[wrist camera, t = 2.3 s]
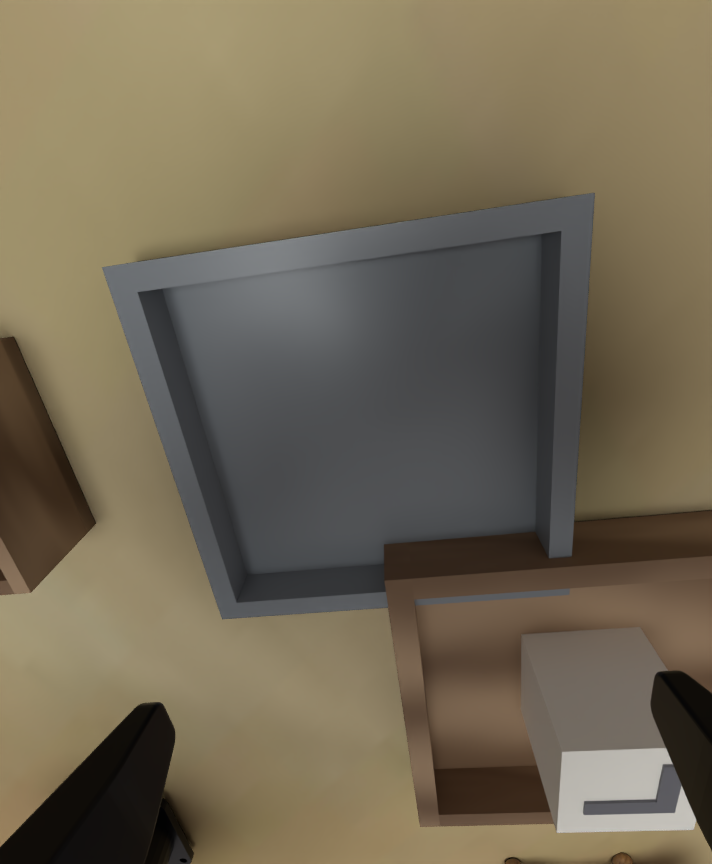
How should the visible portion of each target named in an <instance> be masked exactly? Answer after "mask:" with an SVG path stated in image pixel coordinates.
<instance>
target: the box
mask: <svg viewBox="0 0 712 864" xmlns="http://www.w3.org/2000/svg"><path fill="white" fill-rule="evenodd" d="M95 524H96V523H95V521H94V519H93V516H92V514H91V512H90V510H89V507H88V505H87V503H86V501H85V498H84V496H83V494H82V491H81V489H80V487H79V485H78V482H77V480H76V478H75V476H74V473H73V471H72V469H71V466H70V464H69V462H68V460H67V457H66V455H65V453H64V451H63V448H62V446H61V444H60V442H59V439H58V437H57V435H56V432H55V430H54V428H53V426H52V423H51V421H50V419H49V417H48V414H47V412H46V410H45V407H44V405H43V403H42V401H41V398H40V396H39V394H38V392H37V389H36V387H35V385H34V382H33V380H32V378H31V376H30V373H29V371H28V369H27V367H26V364H25V362H24V360H23V358H22V355H21V353H20V351H19V348H18V346H17V344H16V342H15V339H14V337H8V338H1V339H0V595H8V594H21V593H31V592H32V591H33V590H34V589H35V588H36V587H37V586H38V585H39V583H40V582H41V581H42V580H43V579H44V578H45V577H46V576H47V575H48V574H49V573H50V572H51V571H52V570H53V569H54V568H55V567H56V565H57V564H58V563H59V562H60V561H61V560H62V559H63V558H64V557H65V556H66V555H67V554H68V553H69V552H70V551H71V550H72V548H73V547H74V546H75V545H76V544H77V543H78V542H79V541H80V540H81V539H82V538H83V537H84V536H85V535H86V534H87V533H88V532H89V530H90V529H91V528H92V527H93V526H94V525H95Z"/></svg>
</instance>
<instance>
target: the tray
mask: <svg viewBox="0 0 712 864" xmlns="http://www.w3.org/2000/svg"><path fill="white" fill-rule="evenodd" d="M594 198H595V193H590V194H583V195H576V196H569V197H562V198H555V199H549V200H542V201H536V202H529V203H522V204H516V205H509V206H503V207H496V208H489V209H483V210H476V211H469V212H463V213H456V214H450V215H443V216H436V217H430V218H423V219H417V220H410V221H403V222H397V223H390V224H384V225H377V226H370V227H364V228H357V229H351V230H344V231H337V232H331V233H324V234H317V235H311V236H304V237H298V238H291V239H284V240H278V241H271V242H265V243H258V244H251V245H245V246H238V247H232V248H225V249H218V250H212V251H205V252H199V253H192V254H185V255H179V256H172V257H165V258H159V259H152V260H146V261H139V262H133V263H126V264H120V265H114V266H107V267H102V269H103V272H104V275H105V278H106V281H107V283H108V286H109V289H110V292H111V295H112V298H113V301H114V304H115V307H116V310H117V313H118V316H119V319H120V321H121V324H122V327H123V330H124V333H125V336H126V339H127V342H128V345H129V348H130V351H131V354H132V357H133V360H134V362H135V365H136V368H137V371H138V374H139V377H140V380H141V383H142V386H143V389H144V392H145V395H146V398H147V400H148V403H149V406H150V409H151V412H152V415H153V418H154V421H155V424H156V427H157V430H158V433H159V436H160V439H161V441H162V444H163V447H164V450H165V453H166V456H167V459H168V462H169V465H170V468H171V471H172V474H173V477H174V480H175V482H176V485H177V488H178V491H179V494H180V497H181V500H182V503H183V506H184V509H185V512H186V515H187V518H188V520H189V523H190V526H191V529H192V532H193V535H194V538H195V541H196V544H197V547H198V550H199V553H200V556H201V559H202V561H203V564H204V567H205V570H206V573H207V576H208V579H209V582H210V585H211V588H212V591H213V594H214V597H215V600H216V602H217V605H218V608H219V611H220V614H221V617H222V619H232V618H247V617H261V616H275V615H290V614H304V613H318V612H332V611H347V610H361V609H375V608H388V602H387V595H386V588H385V582H384V544H395V543H407V542H419V541H431V540H443V539H455V538H467V537H479V536H491V535H503V534H515V533H527V532H536V534H537V536H538V538H539V540H540V542H541V544H542V546H543V548H544V550H545V552H546V554H547V556H548V558H549V559H550V558H563V557H572V546H573V530H574V514H575V498H576V482H577V467H578V451H579V435H580V419H581V403H582V388H583V372H584V356H585V340H586V324H587V308H588V293H589V277H590V261H591V245H592V229H593V214H594ZM569 593H570V589H556V590H542V591H528V592H514V593H500V594H486V595H472V596H458V597H444V598H430V599H416V600H414V601H415V606H418V605H432V604H447V603H461V602H475V601H490V600H504V599H518V598H532V597H547V596H561V595H569Z"/></svg>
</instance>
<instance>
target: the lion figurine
mask: <svg viewBox="0 0 712 864" xmlns="http://www.w3.org/2000/svg"><path fill="white" fill-rule="evenodd" d="M632 863H633V862H632V859H631V857H630V856H628V855H627V854H624V853H619V854H617V855H615V856H614V857H613V864H632ZM505 864H521V863H520V862H519V860H517V859H514V858H512V859H509V860H507V861H506V863H505Z"/></svg>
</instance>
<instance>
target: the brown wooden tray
mask: <svg viewBox="0 0 712 864" xmlns="http://www.w3.org/2000/svg"><path fill="white" fill-rule="evenodd" d="M384 582H385V588H386V595H387V602H388V609H389V616H390V623H391V630H392V637H393V644H394V650H395V657H396V664H397V671H398V678H399V685H400V692H401V699H402V706H403V712H404V719H405V726H406V733H407V740H408V747H409V754H410V761H411V768H412V774H413V781H414V788H415V795H416V802H417V809H418V816H419V823H420V827H434V826H477V825H519V824H554V822H553V818H552V815H551V811H550V808H549V804H548V801H547V798H546V794H545V791H544V787H543V784H542V780H541V777H540V774H539V770H538V767H537V763H536V760H535V756H534V753H533V750H532V746H531V743H530V739H529V736H528V732H527V729H526V726H525V722H524V719H523V715H522V712H521V634H535V633H551V632H567V631H583V630H599V629H615V628H631V627H640V628H641V629H642V631H643V633H644V634H645V636H646V637H647V639H648V640H649V642H650V643H651V645H652V646H653V648H654V650H655V651H656V653H657V654H658V656H659V657H660V659H661V660H662V662H663V663H664V665H665V667H666V668H667V670H668V671H673V670H679V671H682V672H685V673H686V674H688V675H689V676H691V677H692V678H693V679H694V680H696V681H697V682H698V683H700V684H701V685H702V686H703V687H705V688H706V689H707V690H709V691H710V692H711V693H712V511H700V512H689V513H677V514H665V515H653V516H641V517H630V518H618V519H606V520H594V521H582V522H574V530H573V546H572V557H563V558H550V559H549V558H548V556H547V554H546V552H545V550H544V548H543V546H542V544H541V542H540V540H539V538H538V536H537V534H536V532H527V533H515V534H503V535H491V536H479V537H467V538H455V539H443V540H431V541H419V542H407V543H395V544H384ZM556 589H570V593H569V595H561V596H547V597H532V598H518V599H504V600H490V601H475V602H461V603H447V604H432V605H418V606H415V601H414V600H416V599H430V598H444V597H458V596H472V595H486V594H500V593H514V592H528V591H542V590H556Z"/></svg>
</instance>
